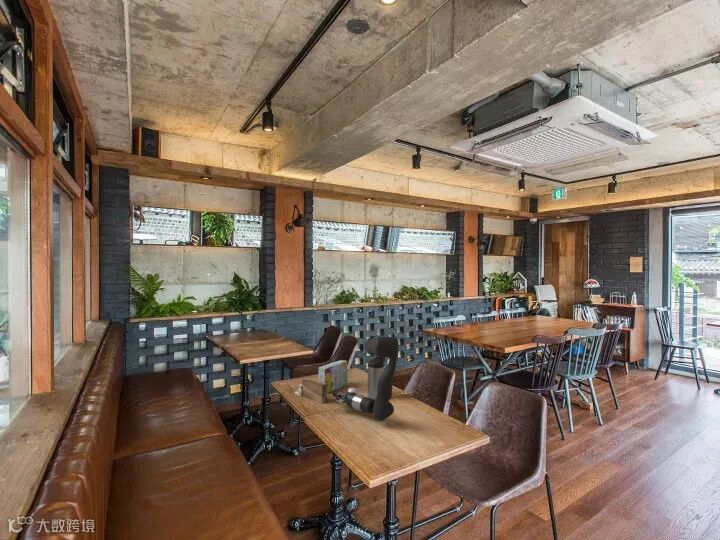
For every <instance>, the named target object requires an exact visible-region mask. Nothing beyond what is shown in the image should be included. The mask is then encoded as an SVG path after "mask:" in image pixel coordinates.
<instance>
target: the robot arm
mask: <svg viewBox="0 0 720 540" xmlns="http://www.w3.org/2000/svg"><path fill="white" fill-rule="evenodd" d="M364 346H365V347H364V348H365V352H366V353H367V355H369V356H370V355H374V356H375V357H374V358H372V359H369V360H368V361H367V396H365V395H363V394H360V393H358V392H357V393H354V392H348V391H342V392H338V391H332V397H334V398H335V399H334V400H335V403H336V404H339V403H340V402H341V403H343V404H346V406H347V408H350V409H353V410H356V411H358V412H359V411H360V412H363V413H366V414H369V415H370V414H371V415H373V417H374V419H375V420H376V421H380V422H382V421H384V420H385V419H387V418H389V417H390V416H392V415H393V414H394V412H395V408H394V405H393V404H392V403H391V402H390V400H391V399H392V397H393V383H394V375H395V371H396V366H397V362H398V361H397V360H398V356H399V341H398V337H396V336H378V337H369V338H367V339H366V341H365V344H364ZM385 358H389V360H388V363H387V365H386V367H385Z"/></svg>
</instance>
